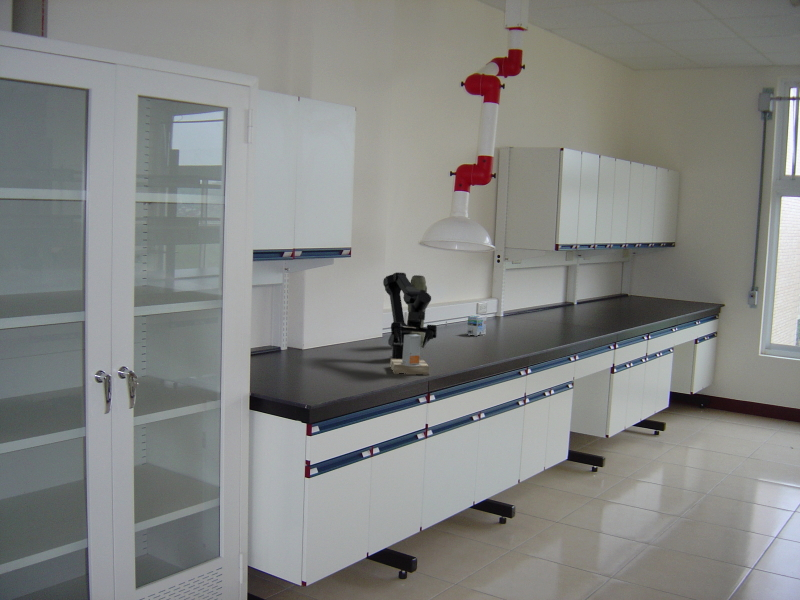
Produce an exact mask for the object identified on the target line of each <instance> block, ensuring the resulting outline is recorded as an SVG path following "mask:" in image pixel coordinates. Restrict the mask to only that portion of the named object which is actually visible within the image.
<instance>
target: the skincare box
mask: <svg viewBox="0 0 800 600" xmlns="http://www.w3.org/2000/svg"><path fill="white" fill-rule="evenodd" d="M421 349H422V348H421V335H417V334H408V335H404V344H403V358H402V363H403V364H406V365H415V364H419V362H420V360H421V359H420V358H421Z"/></svg>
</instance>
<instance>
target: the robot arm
mask: <svg viewBox="0 0 800 600" xmlns="http://www.w3.org/2000/svg"><path fill="white" fill-rule="evenodd" d="M382 280H383V281H382V283H383V286H384V291H385V292H386V293H387V294H388V295H389V297H390V298H389V299H390V308H391V313H392V321H393V322H391V326H390V330H391V331H390V332H391V334H390V335H389V338H388V339H387V342H388V345H389V346H391V347H392V349H391V351H392V352H391V355H390V356H389V358H390V359H402V358H403V344H404V335H408V334H411V333H410V332H416V333H424V341H423V346H422V348H421V349H424V348H425V347H426V345H427V344H428V342H429V341H431V340H433V339H436V338H437V337H438V327H437V325H436V324H427V325H426V327H424V328H421V326H422V320H424V321H425V320H426V310H425V309H427V308H428V306H429V304H431V303H430V302H431V300H432V296H431V295H430V294H429V293H428V292H427V293H426V292H425V290H418V289H416V288H414V287H413V286H412V284H411V281H410V280H409V279H408V277H407V274H406V273H405V272H395V273H393V274H389V275H386V277H384V278H383V279H382ZM401 292H402V293H403V301H404V302H405V304H406V305H407V304H412V305H411V306H410V312H408V311H407V313H408V314H407V322H406V323H405V316H404V311H403V304H402V297H401ZM424 310H425V312H423V311H424Z"/></svg>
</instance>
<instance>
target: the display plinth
mask: <svg viewBox="0 0 800 600" xmlns="http://www.w3.org/2000/svg"><path fill="white" fill-rule="evenodd" d="M389 361H390V362H389V368H390V367H391V368H390V369H391V370H393V371H392V372H393V375H400V374H399V373H404V374H403V375H416V374H423V375H425V376H429V373H430V366H429V365H428V363H427V362H426V361H425V360H424V359H420V362H419V364H415V365H406V364H403V363H402V359H391V358H390V360H389ZM405 373H406V374H405ZM423 375H422V376H423Z"/></svg>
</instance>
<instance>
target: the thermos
mask: <svg viewBox="0 0 800 600" xmlns="http://www.w3.org/2000/svg"><path fill="white" fill-rule="evenodd" d="M410 283H411V284H412V286H413V287H414V288H416V289H418V290H425V292H426V293H428V291H427V290H428V286H427V285H426V283H427V282H426V278H425V276H424V275H421V274H419V275H412V277H411V280H410ZM406 305H407V313H408V312H410V306H411V305H412V304H406ZM426 309H427V308H426ZM426 309H425V310H424V311H423V312H425V313H426V311H427V310H426ZM424 325H425V320H422V326H421V328H425V327H424ZM410 333H411V334H417V335H421V347H422V346H423V341H424V337H425V333H416V332H410Z"/></svg>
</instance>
